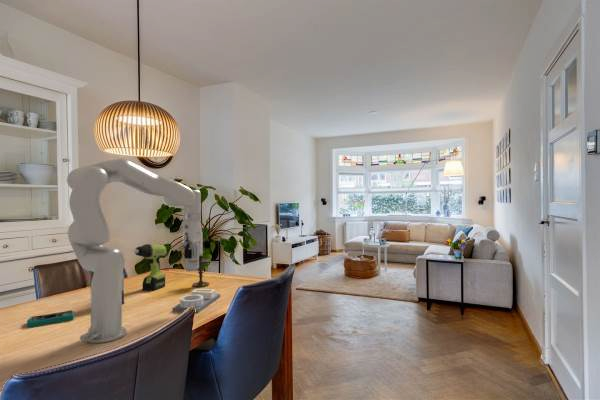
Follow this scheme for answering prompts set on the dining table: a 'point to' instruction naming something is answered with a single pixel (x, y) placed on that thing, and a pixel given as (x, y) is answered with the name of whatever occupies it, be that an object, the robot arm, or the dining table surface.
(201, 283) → the candlestick
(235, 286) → the dining table surface
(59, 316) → the digital multimeter
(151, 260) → the cordless drill
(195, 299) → the socket board
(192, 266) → the energy drink can
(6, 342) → the dining table surface
